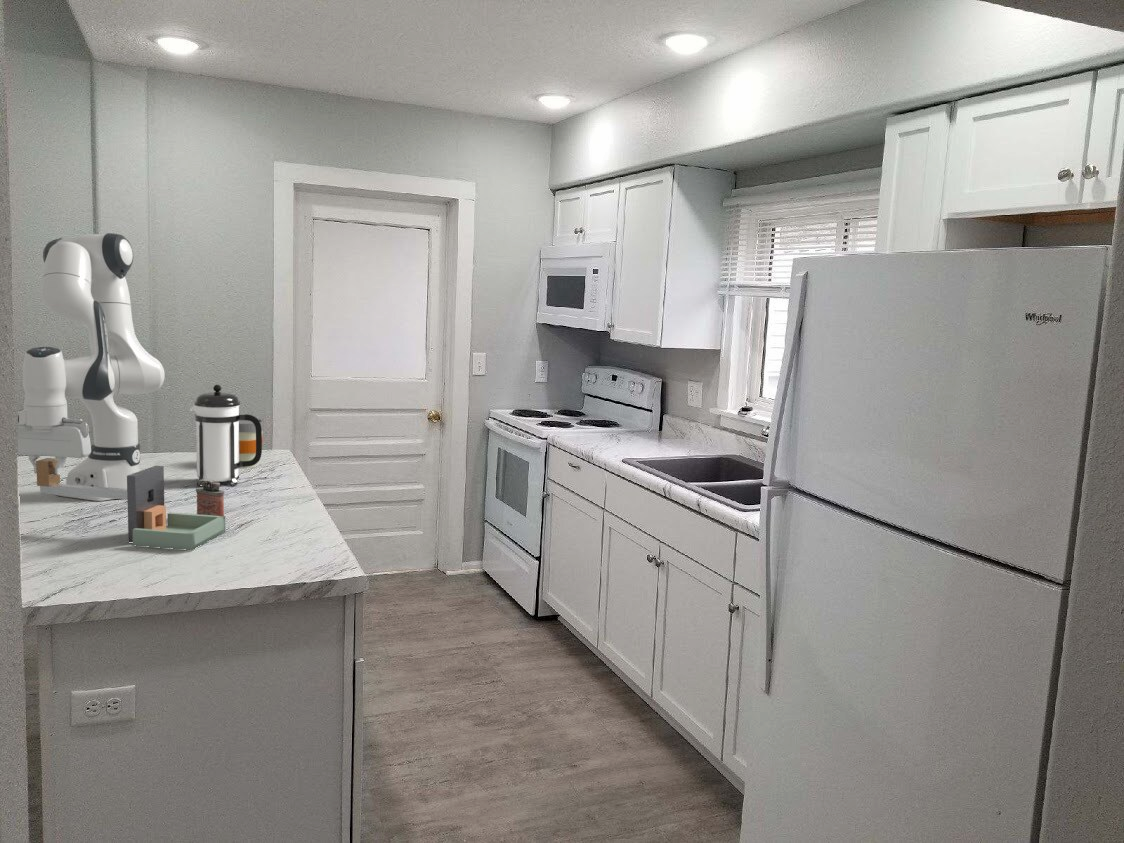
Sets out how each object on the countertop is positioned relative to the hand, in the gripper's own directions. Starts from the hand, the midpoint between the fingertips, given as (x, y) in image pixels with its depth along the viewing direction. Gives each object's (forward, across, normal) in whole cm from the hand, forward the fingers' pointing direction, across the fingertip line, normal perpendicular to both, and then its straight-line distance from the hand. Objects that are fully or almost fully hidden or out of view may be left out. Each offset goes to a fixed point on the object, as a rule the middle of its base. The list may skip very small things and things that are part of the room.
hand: (48, 473), depth 208 cm
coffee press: (+14, -14, -58) cm, 61 cm away
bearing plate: (+14, -24, 0) cm, 28 cm away
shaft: (+5, -11, 0) cm, 12 cm away
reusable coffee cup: (+14, -9, -83) cm, 85 cm away
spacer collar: (+13, -26, 0) cm, 29 cm away
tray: (+14, -33, 0) cm, 36 cm away
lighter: (+14, -30, -19) cm, 38 cm away
